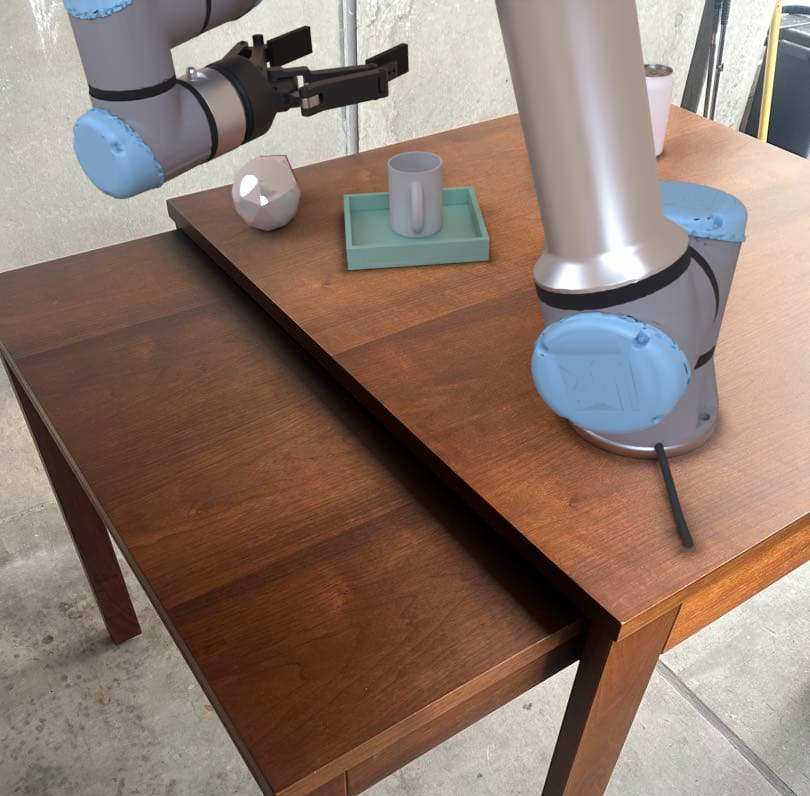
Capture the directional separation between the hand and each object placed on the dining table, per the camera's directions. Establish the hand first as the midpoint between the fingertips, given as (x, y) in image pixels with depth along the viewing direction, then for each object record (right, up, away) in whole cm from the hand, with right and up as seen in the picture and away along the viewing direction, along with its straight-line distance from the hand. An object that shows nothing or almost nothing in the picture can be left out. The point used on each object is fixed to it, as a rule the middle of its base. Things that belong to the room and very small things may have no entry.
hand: (356, 47), depth 96 cm
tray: (+7, -13, +24) cm, 28 cm away
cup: (+7, -12, +23) cm, 27 cm away
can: (+43, +7, +41) cm, 60 cm away
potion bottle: (-14, -8, +30) cm, 34 cm away
